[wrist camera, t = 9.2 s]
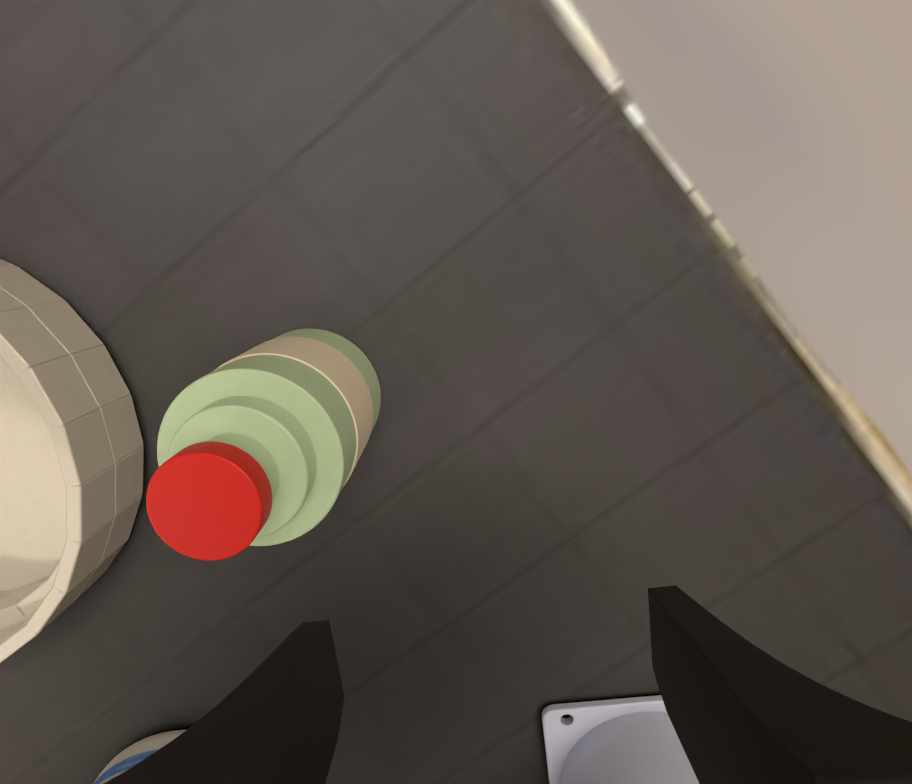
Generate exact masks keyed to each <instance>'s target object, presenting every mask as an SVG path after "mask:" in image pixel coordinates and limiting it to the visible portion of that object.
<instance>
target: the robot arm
mask: <svg viewBox="0 0 912 784" xmlns="http://www.w3.org/2000/svg"><path fill="white" fill-rule="evenodd" d="M648 598H649V614H650V631H651V647H652V664H653V670H654V674H655V677H656V680H657V683H658V687H659V690H660V693H661V695H655V696H644V697H632V698H621V699H609V700H598V701H586V702H575V703H563V704H552V705H549V706H547V707H545V708H544V710H543V711H542V723H543V732H544V741H545V749H546V758H547V767H548V776H549V784H912V722H909V721H906V720H904V719H901V718H898V717H895V716H893V715H890V714H887V713H885V712H882V711H880V710H877V709H875V708H872V707H869V706H867V705H865V704H862V703H860V702H858V701H856V700H853V699H851V698H849V697H847V696H844V695H842V694H840V693H838V692H836V691H833V690H831V689H829V688H827V687H825V686H823V685H821V684H819V683H817V682H815V681H813V680H812V679H810V678H808V677H806V676H804V675H802V674H801V673H799V672H797V671H795V670H793V669H791V668H790V667H788V666H786V665H785V664H783V663H781V662H780V661H778V660H776V659H775V658H773V657H772V656H770V655H768V654H767V653H765V652H764V651H762V650H761V649H759V648H758V647H756V646H755V645H753V644H752V643H750V642H749V641H747V640H746V639H744V638H743V637H742V636H740V635H739V634H737V633H736V632H735V631H733V630H732V629H730V628H729V627H728V626H726V625H725V624H724V623H722V622H721V621H720V620H718V619H717V618H716V617H715V616H713V615H712V614H711V613H709V612H708V611H707V610H706V609H704V608H703V607H702V606H701V605H699V604H698V603H697V602H696V601H694V600H693V599H692V598H691V597H689V596H688V595H687V594H686V593H685V592H683V591H682V590H681V589H680V588H678V587H677V586H667V587H657V588H648ZM343 701H344V693H343V688H342V683H341V678H340V673H339V668H338V663H337V658H336V653H335V648H334V643H333V638H332V633H331V628H330V623H329V620H324V621H314V622H304V623H302V624H301V625H300V626H299V627H297V628H296V629H295V630H294V631H293V632H292V633H291V634H290V635H289V636H288V637H287V638H286V639H285V640H284V641H283V642H282V644H281V645H280V646H279V647H278V648H277V649H276V650H275V651H274V652H273V653H272V654H271V655H270V656H269V657H268V658H267V659H266V660H265V661H264V662H263V663H262V664H261V665H260V666H259V667H258V668H257V669H256V670H255V671H254V672H253V673H252V674H251V675H250V676H249V677H248V678H247V679H245V680H244V681H243V682H242V683H241V684H240V685H239V686H238V687H237V688H236V689H234V690H233V691H232V692H231V693H230V694H229V695H228V696H227V697H226V698H225V699H224V700H222V701H221V702H220V703H219V704H218V705H217V706H216V707H215V708H213V709H212V710H211V711H210V712H209V713H207V714H206V715H205V716H204V717H203V718H201V719H200V720H199V721H198V722H196V723H195V724H194V725H192V726H191V727H190V728H188V729H187V730H186V731H184V732H183V733H182V734H180V735H179V736H178V737H176V738H175V739H174V740H172V741H171V742H169V743H168V744H166V745H165V746H163V747H162V748H160V749H159V750H157V751H156V752H154V753H153V754H151V755H150V756H148V757H147V758H145V759H144V760H142V761H141V762H139V763H138V764H136V765H135V766H133V767H132V768H130V769H128V770H127V771H125V772H123V773H121V774H120V775H118V776H116V777H115V778H113V779H111V780H110V781H108V782H106V783H104V784H325V782H326V779H327V775H328V772H329V768H330V765H331V761H332V758H333V754H334V751H335V747H336V743H337V739H338V733H339V728H340V722H341V715H342V708H343ZM566 714H568V715H571V716H570V717H569V718H563V717H562V716H563V715H566Z"/></svg>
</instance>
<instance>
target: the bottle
mask: <svg viewBox="0 0 912 784" xmlns="http://www.w3.org/2000/svg"><path fill="white" fill-rule="evenodd" d="M380 406H381V392H380V385H379V381H378V377H377V375H376V372H375V370H374V368H373V366H372V364H371V363H370V361H369V360H368V358H367V357H366V355H365V354H364V353H363V352H362V351H361V350H360V349H359V348H358V347H357V346H356V345H354V344H353V343H352V342H350V341H349V340H347V339H346V338H344V337H342V336H340V335H338V334H336V333H333V332H330V331H326V330H321V329H311V328H308V329H298V330H293V331H290V332H287V333H284V334H282V335H280V336H278V337H276V338H274V339H272V340H269V341H266V342H264V343H262V344H260V345H258V346H256V347H254V348H252V349H250V350H248V351H246V352H244V353H243V354H241V355H239V356H237V357H235V358H233V359H231V360H229V361H227V362H226V363H224V364H222V365H221V366H219V367H218V368H216V369H215V370H214V371H213V372H211V373H209V374H207V375H205V376H203V377H201V378H200V379H198V380H196V381H195V382H193V383H192V384H190V385H189V386H187V387H186V388H185V389H184V390H183V391H182V392H181V393H180V394H179V395H178V396H177V397H176V398H175V399H174V401H173V402H172V403H171V405H170V406H169V408H168V410H167V411H166V413H165V415H164V418H163V420H162V423H161V426H160V430H159V434H158V442H157V460H158V465H159V468H158V469H157V470H156V472H155V473H154V475H153V476H152V478H151V480H150V483H149V485H148V489H147V495H146V507H147V513H148V516H149V519H150V522H151V524H152V526H153V528H154V529H155V531H156V533H157V534H158V535H159V536H160V538H161V539H162V540H163V541H164V542H165V543H166V544H167V545H169V546H170V547H171V548H173V549H174V550H176V551H177V552H179V553H181V554H183V555H185V556H188V557H191V558H194V559H199V560H207V561H212V560H221V559H226V558H229V557H232V556H234V555H236V554H238V553H240V552H242V551H243V550H244V549H246V548H247V547H248V546H269V545H275V544H281V543H284V542H287V541H291V540H293V539H295V538H297V537H300V536H302V535H303V534H305V533H307V532H308V531H310V530H311V529H313V528H314V527H315V526H316V525H317V524H319V523H320V522H321V521H322V519H323V518H324V517H325V516H326V515H327V514H328V512H329V511H330V509H331V508H332V506H333V505H334V503H335V501H336V499H337V497H338V495H339V493H340V491H341V489H342V488H343V487H344V485H345V484H346V483H347V481H348V480H349V478H350V476H351V474H352V472H353V470H354V468H355V466H356V464H357V462H358V460H359V458H360V456H361V454H362V452H363V450H364V448H365V446H366V444H367V442H368V440H369V437H370V434H371V432H372V430H373V428H374V426H375V423H376V421H377V418H378V415H379V411H380Z"/></svg>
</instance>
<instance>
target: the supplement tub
mask: <svg viewBox="0 0 912 784" xmlns="http://www.w3.org/2000/svg"><path fill="white" fill-rule="evenodd" d="M184 731H186V730H176V731H168V732H163V733H159V734H156V735H152V736H149V737H147V738H144V739H142V740H140V741H138V742H136V743H134V744H132V745H131V746H129V747H127V748H126V749H124V750H123V751H122V752H121V753H119V754H118V755H117V756H116V757H115V758H113V759H112V760H111V761H110V763H109V764H108V765H107V766H106V767H105V768H104V769H103V770H102V772H101V773H100V774H99V776H98V777H97V779H96V780H95V782H94V783H93V784H104V783H106V782H108V781H110V780H111V779H113V778H115V777H116V776H118V775H120V774H121V773H123V772H125V771H127V770H128V769H130V768H132V767H133V766H135V765H136V764H138V763H139V762H141V761H142V760H144V759H145V758H147V757H148V756H150V755H151V754H153V753H154V752H156V751H157V750H159V749H160V748H162V747H163V746H165V745H166V744H168V743H169V742H171V741H172V740H174V739H175V738H176V737H178V736H179V735H180V734H182V733H183V732H184Z"/></svg>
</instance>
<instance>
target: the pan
mask: <svg viewBox="0 0 912 784" xmlns="http://www.w3.org/2000/svg"><path fill="white" fill-rule="evenodd" d="M143 444H144V443H143V439H142V436H141V432H140V428H139V424H138V420H137V416H136V412H135V408H134V404H133V400H132V396H131V394H130V391H129V389H128V388H127V386H126V384H125V382H124V380H123V378H122V376H121V375H120V373H119V371H118V369H117V367H116V365H115V364H114V362H113V360H112V358H111V356H110V354H109V352H108V351H107V349H106V347H105V345H103V342H102V341H101V340H100V339H99V338H98V337H97V336H96V335H95V333H94V332H93V331H92V330H91V329H90V328H89V327H88V326H87V324H86V323H85V322H84V321H83V320H82V319H81V318H80V317H79V315H78V314H77V313H76V312H75V311H74V310H73V309H72V308H71V306H70V305H69V304H68V303H67V302H66V301H65V300H64V299H63V298H61V297H60V296H58V295H57V294H56V293H54V292H53V291H51V290H50V289H49V288H47V287H46V286H44V285H43V284H42V283H40V282H39V281H37V280H36V279H35V278H33V277H32V276H30V275H29V274H28V273H26V272H25V271H23V270H22V269H20V268H19V267H18V266H16V265H15V266H14V265H13V264H11V263H9V262H6V261H4V260H1V259H0V663H1V662H2V661H4V660H5V659H6V658H8V657H9V656H10V655H12V654H13V653H14V652H16V651H17V650H18V649H20V648H21V647H22V646H24V645H25V644H26V643H28V642H29V641H30V640H32V639H33V638H34V637H36V636H37V635H38V634H39V633H40V632H41V631H42V630H43V629H45V628H46V627H47V626H48V625H49V624H50V623H51V622H52V621H53V620H54V619H55V618H56V617H58V616H59V615H60V614H61V613H62V612H63V611H64V610H65V609H66V608H67V607H68V606H69V605H71V604H72V602H74V601H75V600H76V599H77V598H78V597H79V596H80V595H81V594H82V593H83V592H85V591H86V590H87V589H88V588H89V587H90V586H91V585H92V584H93V583H94V582H95V581H96V580H97V579H99V578H100V577H101V576H102V575H103V574H104V573H105V571H106V570H107V568H108V567H109V566H110V564H111V563H112V561H113V560H114V559H115V557H116V556H117V554H118V553H119V551H120V550H121V549H122V547H123V546H124V544H125V543H126V542H127V540H128V538H129V536H130V533H131V530H132V527H133V523H134V520H135V517H136V514H137V511H138V508H139V505H140V501H141V498H142V493H143V452H144V446H143Z"/></svg>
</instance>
